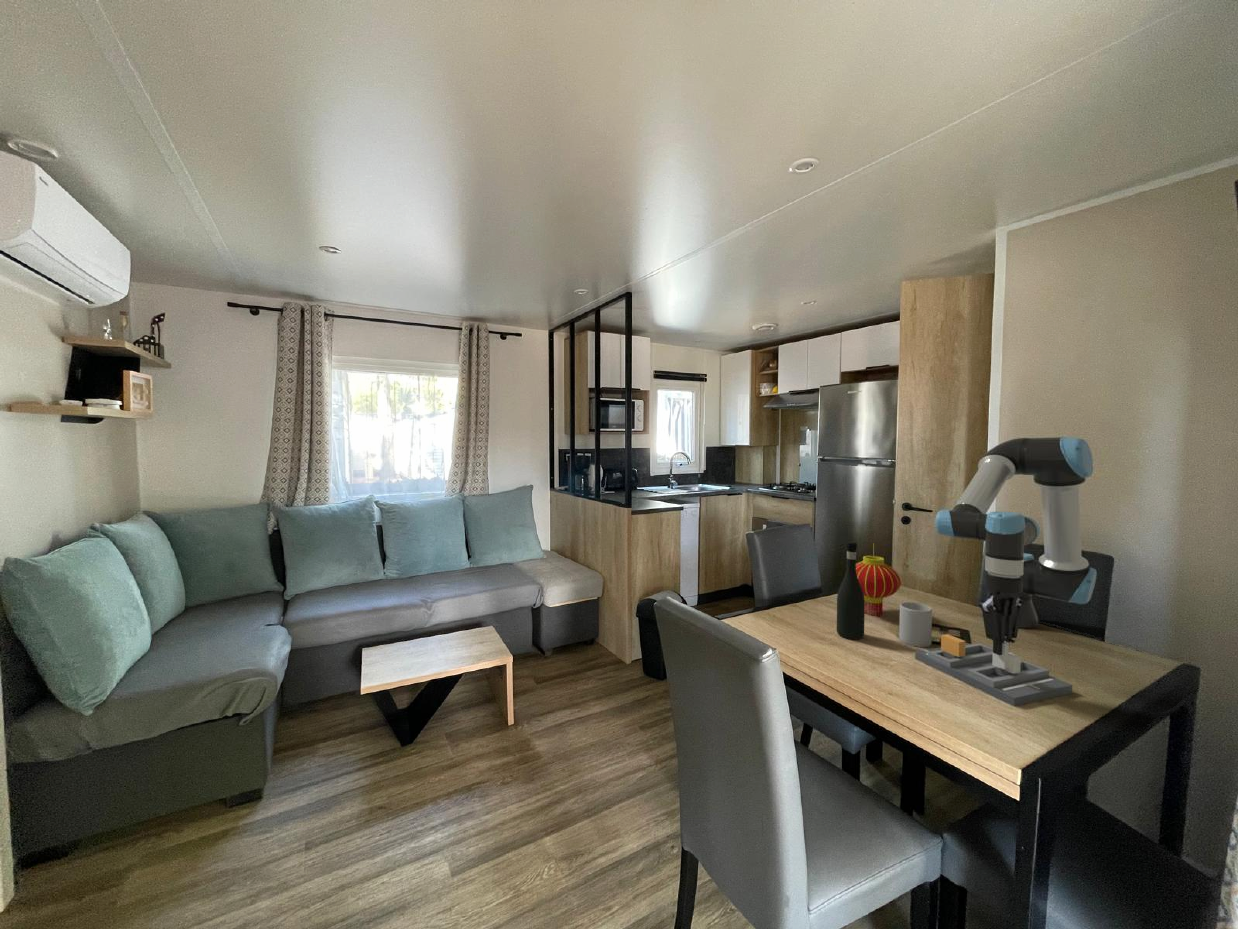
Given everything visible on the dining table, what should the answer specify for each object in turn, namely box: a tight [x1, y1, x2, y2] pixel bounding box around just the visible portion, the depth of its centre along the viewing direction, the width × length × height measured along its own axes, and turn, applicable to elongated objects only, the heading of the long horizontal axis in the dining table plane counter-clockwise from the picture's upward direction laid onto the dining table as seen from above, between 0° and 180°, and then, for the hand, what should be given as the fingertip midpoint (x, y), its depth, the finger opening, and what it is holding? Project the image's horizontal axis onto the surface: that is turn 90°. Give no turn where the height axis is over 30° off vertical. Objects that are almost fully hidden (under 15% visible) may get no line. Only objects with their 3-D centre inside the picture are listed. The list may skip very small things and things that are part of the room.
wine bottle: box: [836, 541, 865, 640], centre depth 152 cm, size 8×8×30 cm
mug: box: [898, 601, 933, 648], centre depth 149 cm, size 12×8×11 cm
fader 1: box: [940, 633, 967, 659], centre depth 130 cm, size 3×5×6 cm, turn 17°
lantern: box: [856, 544, 902, 617], centre depth 172 cm, size 17×17×30 cm
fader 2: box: [992, 651, 1022, 677], centre depth 121 cm, size 3×5×6 cm, turn 17°
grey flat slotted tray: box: [914, 642, 1073, 707], centre depth 126 cm, size 20×26×4 cm
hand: (1000, 666), depth 121 cm, fingers closed
